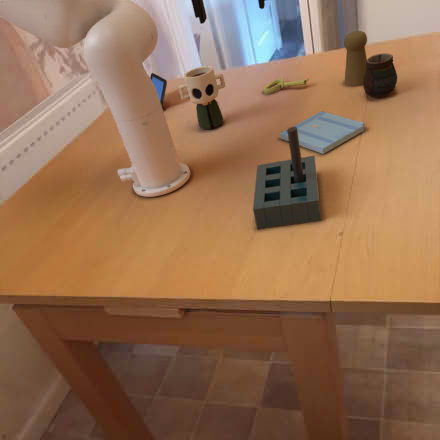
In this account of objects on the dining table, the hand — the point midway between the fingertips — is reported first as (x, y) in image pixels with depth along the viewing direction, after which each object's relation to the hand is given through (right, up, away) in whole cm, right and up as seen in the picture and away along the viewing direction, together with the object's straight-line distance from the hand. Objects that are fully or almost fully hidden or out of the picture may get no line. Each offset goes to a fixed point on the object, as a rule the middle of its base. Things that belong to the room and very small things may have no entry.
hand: (232, 14), depth 75 cm
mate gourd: (+35, 0, +32) cm, 47 cm away
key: (+15, +9, +49) cm, 52 cm away
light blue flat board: (+20, -11, +24) cm, 33 cm away
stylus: (+13, -28, +8) cm, 32 cm away
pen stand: (+10, -28, +8) cm, 31 cm away
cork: (+32, +8, +41) cm, 52 cm away
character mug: (-4, -3, +42) cm, 42 cm away
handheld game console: (-22, +9, +62) cm, 67 cm away
